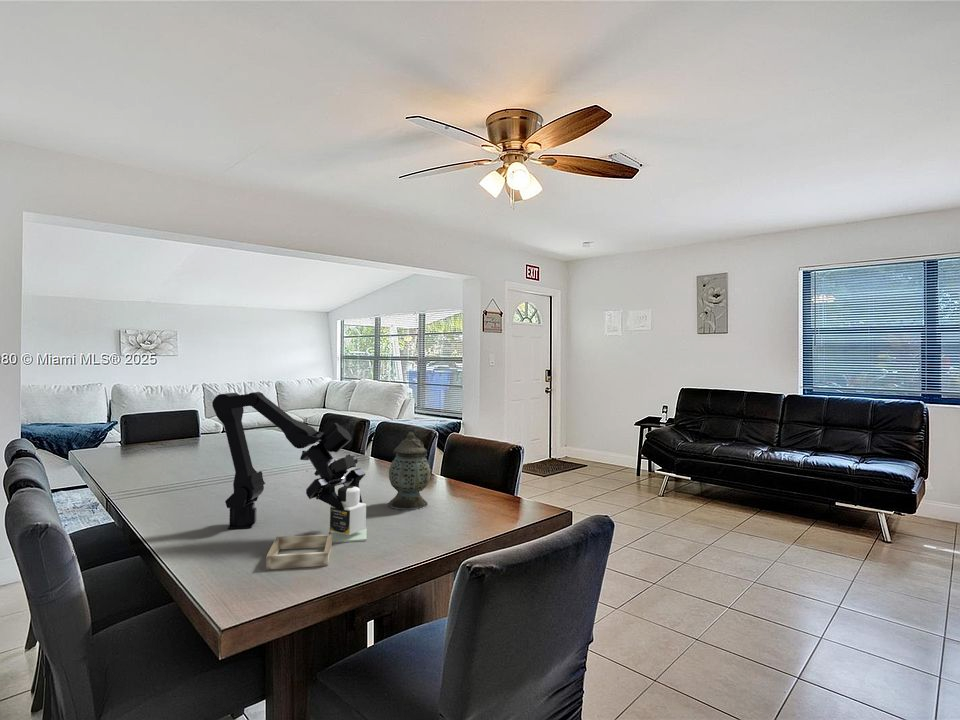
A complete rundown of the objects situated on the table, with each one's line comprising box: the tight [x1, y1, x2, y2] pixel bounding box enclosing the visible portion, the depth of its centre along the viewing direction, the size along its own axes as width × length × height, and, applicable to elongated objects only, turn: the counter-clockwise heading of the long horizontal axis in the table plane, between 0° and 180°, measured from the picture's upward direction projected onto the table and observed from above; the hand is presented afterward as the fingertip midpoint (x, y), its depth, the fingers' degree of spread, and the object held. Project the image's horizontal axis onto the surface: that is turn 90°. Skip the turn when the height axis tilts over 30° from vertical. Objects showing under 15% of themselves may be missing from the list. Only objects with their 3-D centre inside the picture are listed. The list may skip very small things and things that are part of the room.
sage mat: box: [329, 527, 368, 544], centre depth 149 cm, size 10×10×1 cm
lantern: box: [387, 431, 432, 511], centre depth 181 cm, size 14×14×25 cm
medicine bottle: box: [329, 485, 367, 535], centre depth 149 cm, size 7×7×12 cm
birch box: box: [265, 533, 333, 570], centre depth 133 cm, size 14×14×3 cm
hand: (352, 507), depth 148 cm, fingers closed on medicine bottle, 7 cm apart
